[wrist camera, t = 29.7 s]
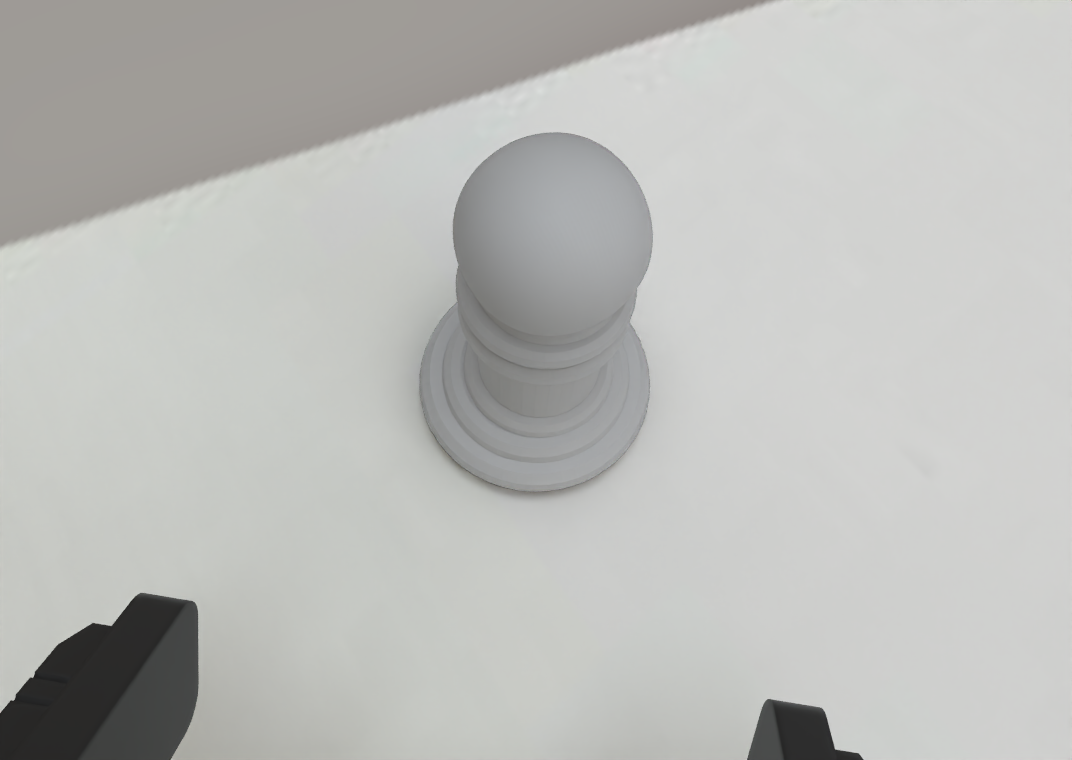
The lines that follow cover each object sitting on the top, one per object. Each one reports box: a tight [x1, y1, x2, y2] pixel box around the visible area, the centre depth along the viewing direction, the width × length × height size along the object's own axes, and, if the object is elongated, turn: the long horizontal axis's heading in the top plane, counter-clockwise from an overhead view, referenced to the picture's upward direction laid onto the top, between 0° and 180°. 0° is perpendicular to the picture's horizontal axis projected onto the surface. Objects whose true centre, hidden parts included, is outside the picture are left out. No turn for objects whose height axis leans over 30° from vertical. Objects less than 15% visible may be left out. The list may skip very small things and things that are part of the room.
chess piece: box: [420, 133, 653, 492], centre depth 19 cm, size 5×5×9 cm
